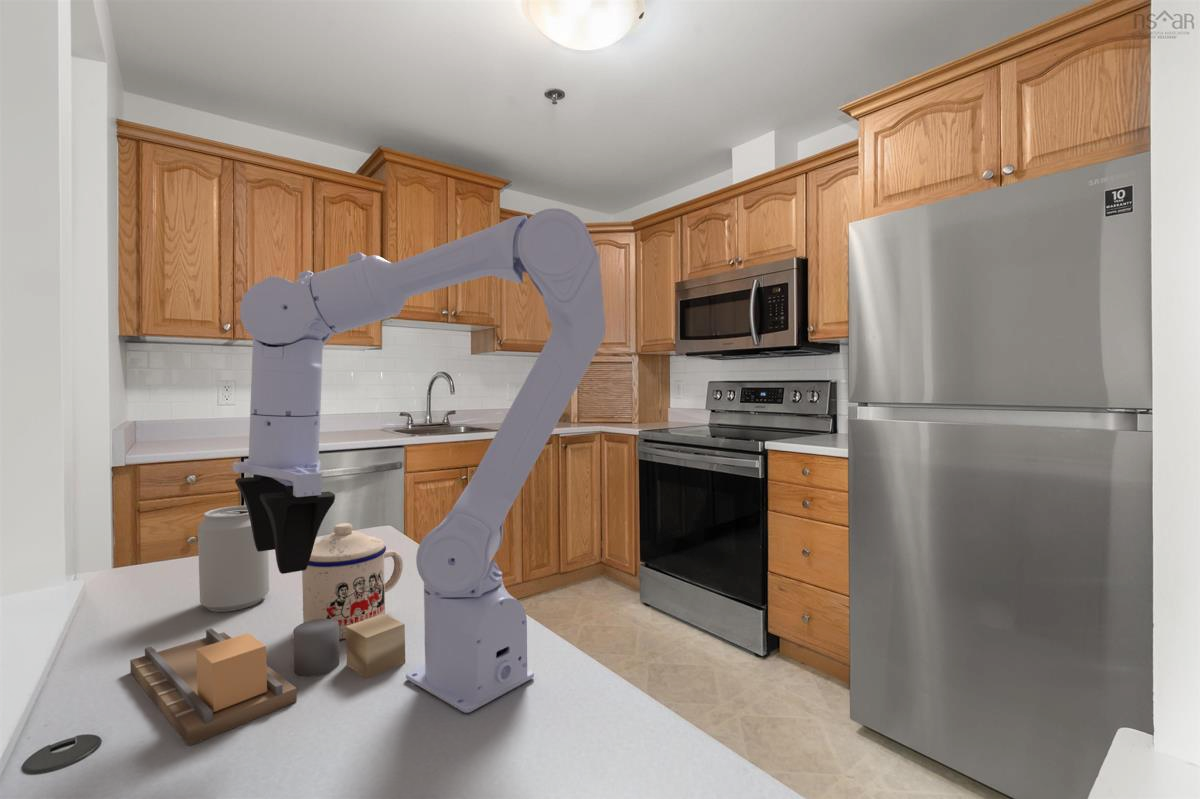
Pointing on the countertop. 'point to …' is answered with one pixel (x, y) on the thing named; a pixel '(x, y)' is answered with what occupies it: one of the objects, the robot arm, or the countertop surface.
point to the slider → (231, 671)
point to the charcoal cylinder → (316, 647)
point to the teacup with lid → (347, 578)
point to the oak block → (375, 645)
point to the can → (230, 561)
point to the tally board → (177, 693)
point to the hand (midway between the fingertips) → (280, 559)
